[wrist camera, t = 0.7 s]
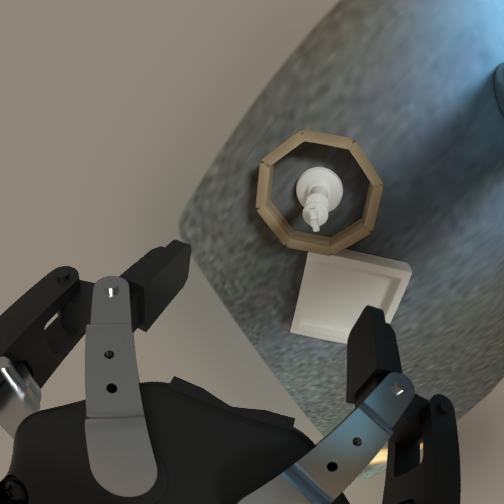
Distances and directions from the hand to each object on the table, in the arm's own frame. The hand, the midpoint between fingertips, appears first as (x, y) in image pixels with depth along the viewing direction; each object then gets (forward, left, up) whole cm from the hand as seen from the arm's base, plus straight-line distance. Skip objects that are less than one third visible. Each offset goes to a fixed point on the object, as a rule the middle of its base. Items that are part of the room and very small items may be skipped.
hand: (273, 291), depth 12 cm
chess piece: (-1, 0, -19) cm, 19 cm away
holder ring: (-1, 0, -19) cm, 19 cm away
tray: (-7, +12, -19) cm, 23 cm away
